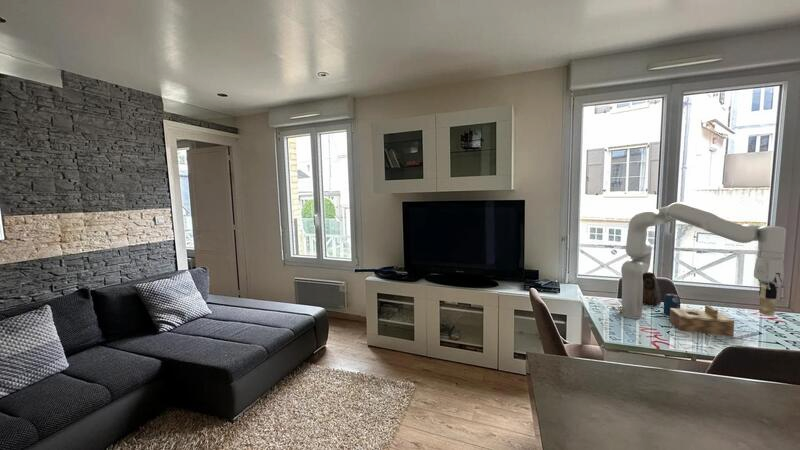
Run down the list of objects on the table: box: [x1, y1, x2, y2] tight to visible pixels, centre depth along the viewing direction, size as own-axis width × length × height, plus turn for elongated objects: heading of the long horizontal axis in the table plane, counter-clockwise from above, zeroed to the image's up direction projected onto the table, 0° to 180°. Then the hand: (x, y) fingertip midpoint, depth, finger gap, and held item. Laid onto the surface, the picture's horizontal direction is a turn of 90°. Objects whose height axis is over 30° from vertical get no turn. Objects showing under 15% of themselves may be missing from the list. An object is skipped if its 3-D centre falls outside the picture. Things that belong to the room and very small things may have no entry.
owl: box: [642, 270, 662, 307], centre depth 199 cm, size 13×13×20 cm
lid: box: [670, 305, 735, 324], centre depth 158 cm, size 20×12×4 cm, turn 68°
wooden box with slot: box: [669, 310, 735, 337], centre depth 158 cm, size 20×12×7 cm, turn 68°
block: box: [758, 281, 776, 317], centre depth 138 cm, size 4×4×14 cm
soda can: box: [663, 292, 681, 316], centre depth 177 cm, size 7×7×12 cm
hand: (767, 296), depth 138 cm, fingers closed on block, 3 cm apart
